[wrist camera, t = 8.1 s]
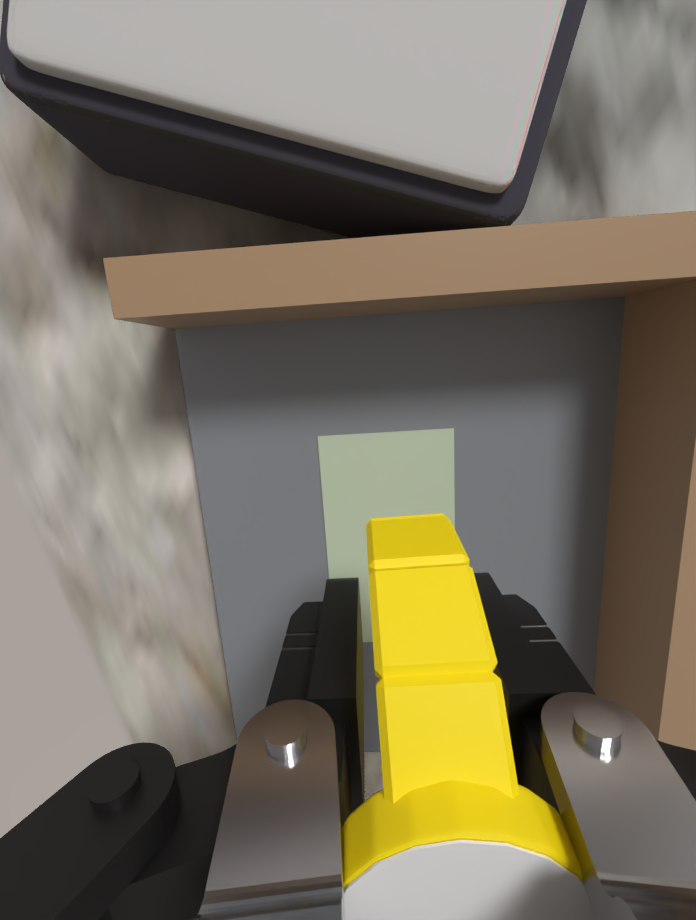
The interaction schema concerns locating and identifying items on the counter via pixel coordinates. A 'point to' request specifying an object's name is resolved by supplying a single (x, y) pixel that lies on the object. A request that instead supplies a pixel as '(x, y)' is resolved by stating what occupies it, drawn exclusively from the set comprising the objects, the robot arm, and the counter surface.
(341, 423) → the corner tray
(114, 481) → the counter surface
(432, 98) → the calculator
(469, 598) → the watch
